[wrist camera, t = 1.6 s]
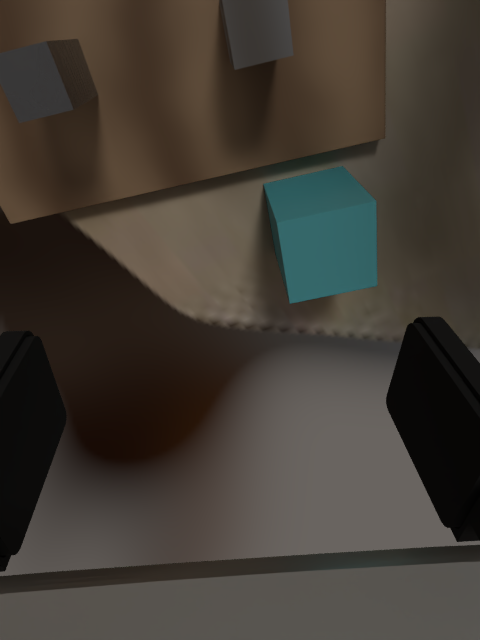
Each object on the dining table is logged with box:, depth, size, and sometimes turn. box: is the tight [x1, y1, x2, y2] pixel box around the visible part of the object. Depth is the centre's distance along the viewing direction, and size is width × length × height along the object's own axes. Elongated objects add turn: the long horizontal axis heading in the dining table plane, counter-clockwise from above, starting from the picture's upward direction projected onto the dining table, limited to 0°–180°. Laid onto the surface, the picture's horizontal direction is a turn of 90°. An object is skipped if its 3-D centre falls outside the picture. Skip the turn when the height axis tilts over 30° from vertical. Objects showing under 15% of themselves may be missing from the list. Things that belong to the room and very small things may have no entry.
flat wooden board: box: [0, 0, 386, 224], centre depth 20 cm, size 24×14×6 cm, turn 102°
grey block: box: [0, 39, 98, 123], centre depth 20 cm, size 3×3×5 cm
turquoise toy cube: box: [264, 166, 377, 304], centre depth 25 cm, size 5×5×7 cm
